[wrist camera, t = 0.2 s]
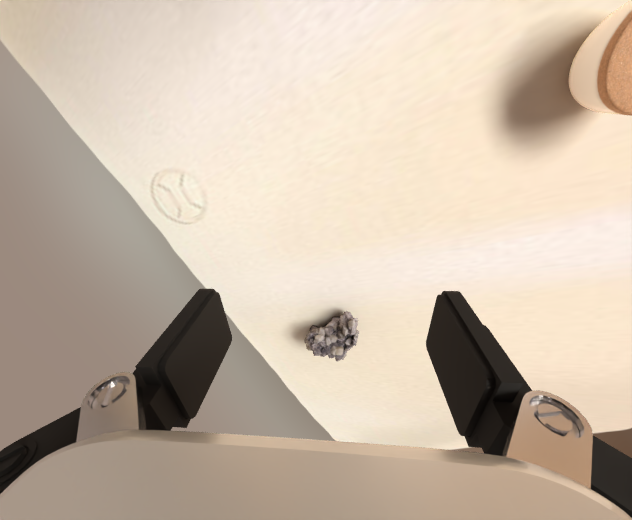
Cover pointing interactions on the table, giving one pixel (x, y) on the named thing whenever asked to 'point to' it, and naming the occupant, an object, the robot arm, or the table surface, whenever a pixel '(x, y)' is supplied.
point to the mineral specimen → (333, 337)
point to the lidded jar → (605, 66)
